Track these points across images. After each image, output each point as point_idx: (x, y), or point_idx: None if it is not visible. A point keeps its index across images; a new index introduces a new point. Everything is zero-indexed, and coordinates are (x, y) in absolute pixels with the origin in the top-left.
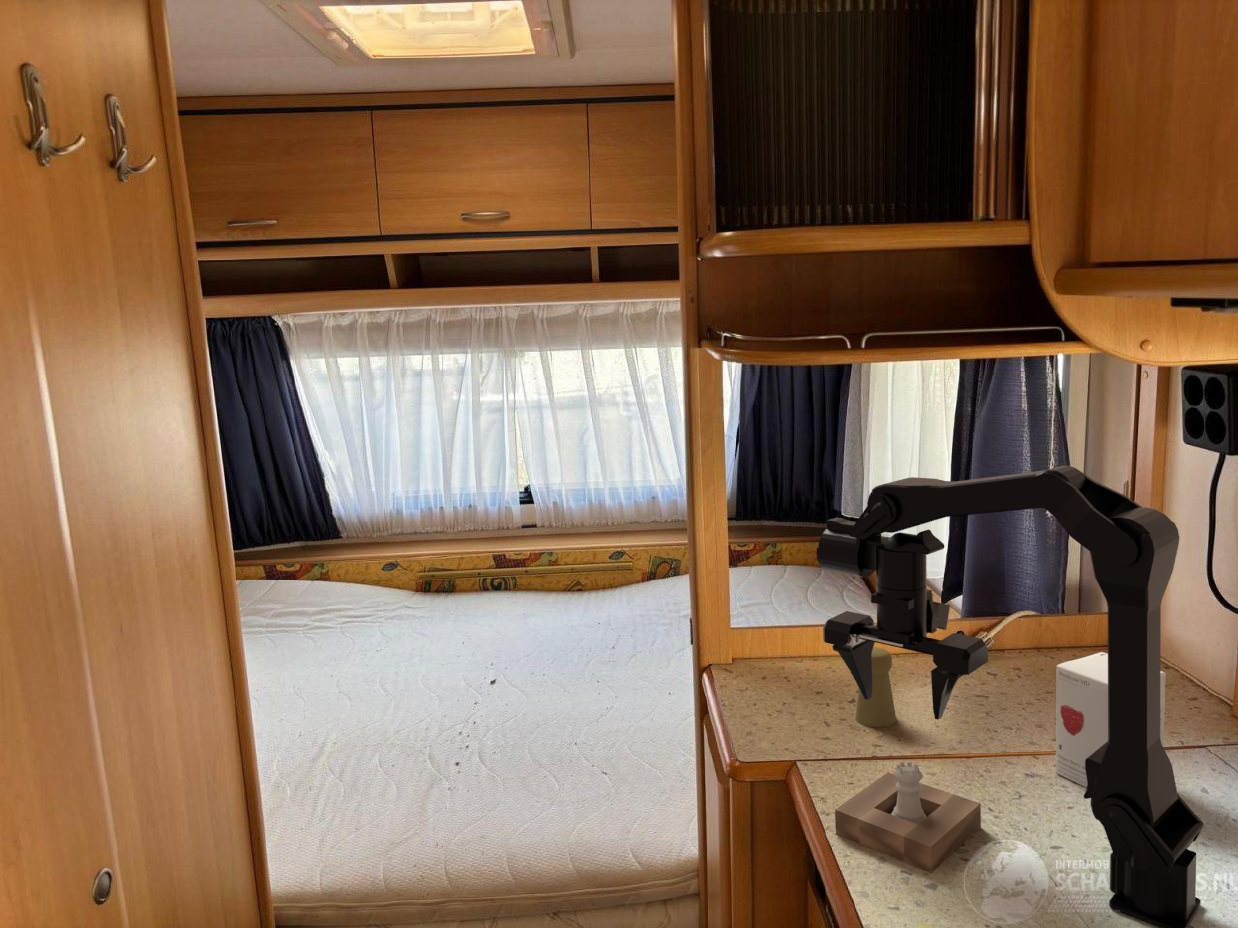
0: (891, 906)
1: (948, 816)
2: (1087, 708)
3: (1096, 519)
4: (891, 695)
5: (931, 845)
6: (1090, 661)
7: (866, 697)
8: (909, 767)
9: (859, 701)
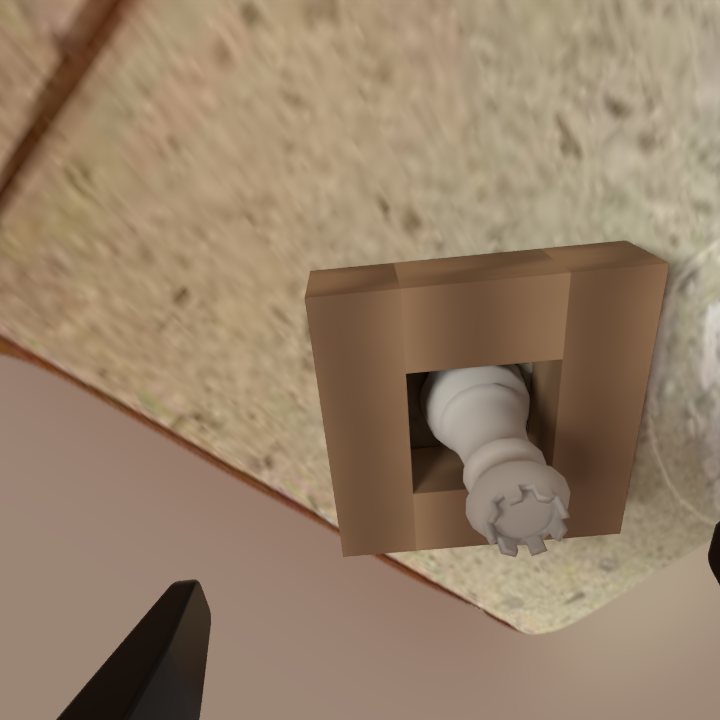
0: (570, 597)
1: (606, 399)
2: None
3: None
4: None
5: (618, 527)
6: None
7: (206, 640)
8: (522, 507)
9: None
